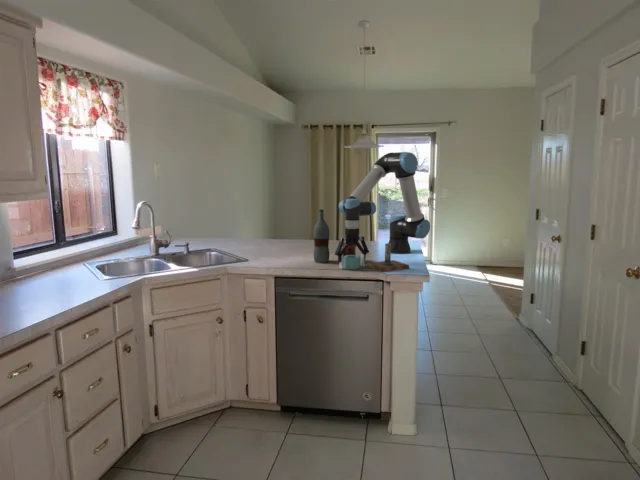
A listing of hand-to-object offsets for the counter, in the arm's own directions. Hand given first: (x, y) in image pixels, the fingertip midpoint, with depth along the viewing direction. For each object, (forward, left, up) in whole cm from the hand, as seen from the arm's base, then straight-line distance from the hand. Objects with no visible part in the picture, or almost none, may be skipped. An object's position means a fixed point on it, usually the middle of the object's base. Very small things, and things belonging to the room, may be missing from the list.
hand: (351, 267), depth 245 cm
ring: (0, 0, 0) cm, 0 cm away
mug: (-6, -14, 0) cm, 15 cm away
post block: (-17, +9, 0) cm, 19 cm away
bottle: (+8, -21, 0) cm, 22 cm away
